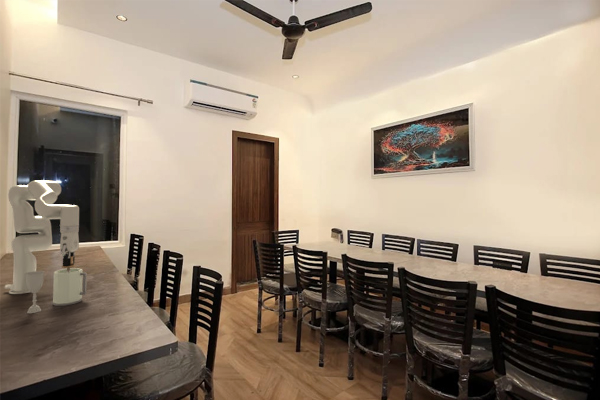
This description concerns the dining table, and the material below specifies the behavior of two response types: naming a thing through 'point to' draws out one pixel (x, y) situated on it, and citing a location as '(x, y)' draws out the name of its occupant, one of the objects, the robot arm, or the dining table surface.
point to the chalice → (34, 287)
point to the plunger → (69, 266)
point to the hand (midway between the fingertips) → (68, 264)
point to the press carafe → (68, 286)
